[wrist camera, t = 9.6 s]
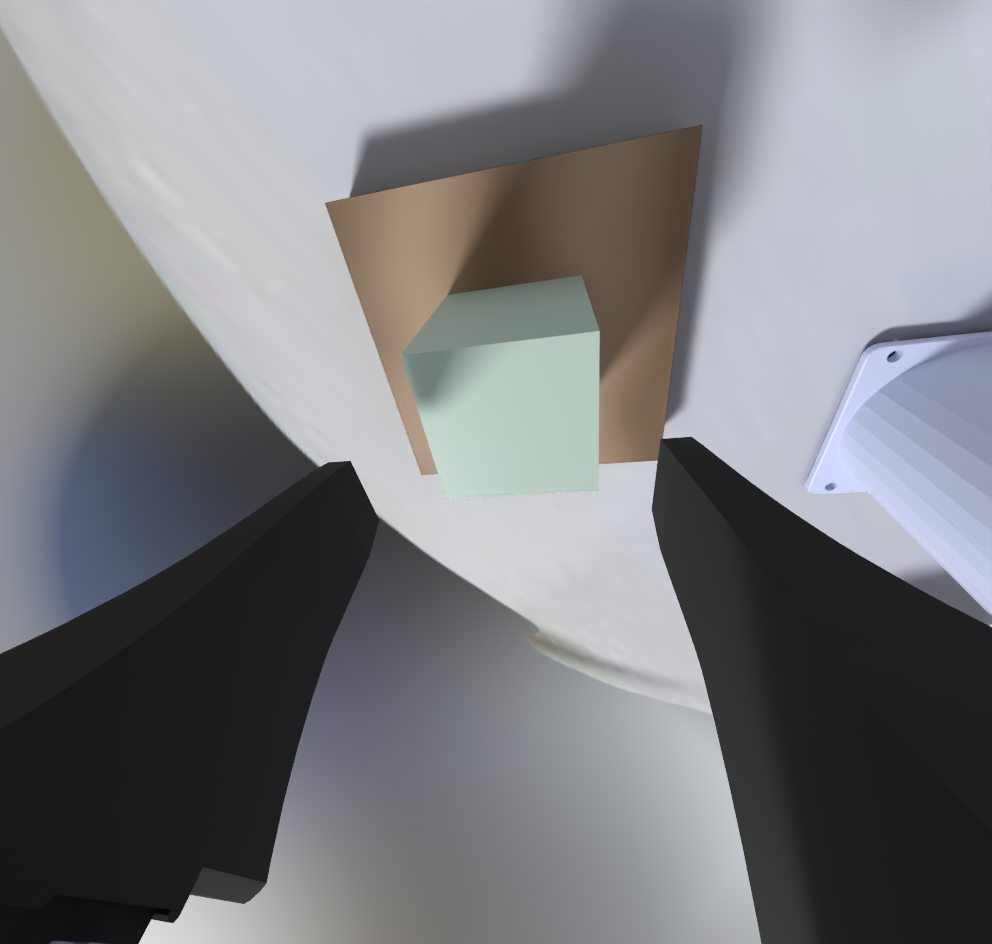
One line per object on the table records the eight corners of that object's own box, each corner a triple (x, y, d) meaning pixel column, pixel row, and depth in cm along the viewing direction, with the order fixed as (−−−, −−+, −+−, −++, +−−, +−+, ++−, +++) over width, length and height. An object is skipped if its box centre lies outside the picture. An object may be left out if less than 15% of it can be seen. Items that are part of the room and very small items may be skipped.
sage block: (581, 275, 14) (599, 331, 9) (583, 400, 17) (598, 491, 12) (447, 295, 15) (400, 355, 10) (472, 410, 18) (445, 498, 13)
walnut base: (683, 129, 12) (702, 124, 11) (651, 437, 20) (659, 460, 18) (348, 199, 15) (324, 202, 13) (430, 453, 22) (421, 474, 20)
